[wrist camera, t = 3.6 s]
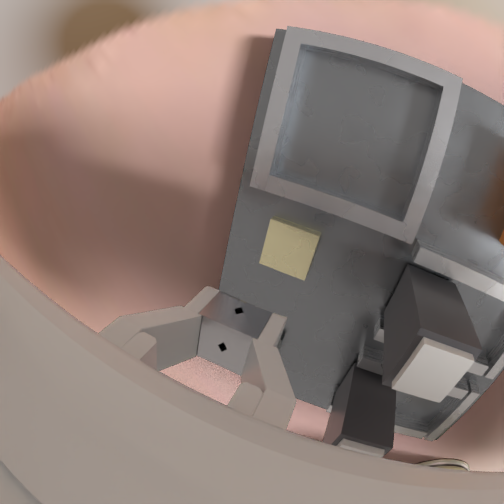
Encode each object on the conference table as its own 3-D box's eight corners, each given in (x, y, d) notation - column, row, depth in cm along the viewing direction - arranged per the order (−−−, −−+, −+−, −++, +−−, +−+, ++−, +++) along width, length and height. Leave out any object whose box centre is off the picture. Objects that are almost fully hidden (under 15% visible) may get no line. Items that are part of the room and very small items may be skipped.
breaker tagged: (455, 283, 13) (484, 357, 8) (429, 328, 14) (440, 408, 9) (407, 264, 14) (421, 334, 8) (384, 311, 15) (381, 391, 10)
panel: (579, 173, 9) (607, 182, 6) (435, 421, 19) (436, 451, 16) (287, 39, 14) (268, 21, 11) (217, 343, 23) (198, 368, 21)
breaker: (396, 376, 16) (392, 454, 11) (374, 404, 17) (363, 476, 12) (354, 362, 17) (339, 440, 12) (335, 391, 18) (315, 463, 13)
